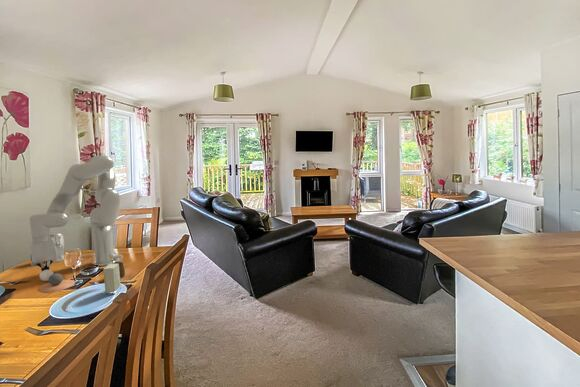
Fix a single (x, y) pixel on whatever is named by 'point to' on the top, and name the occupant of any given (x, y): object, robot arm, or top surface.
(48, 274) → the cue ball
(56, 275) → the object ball
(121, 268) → the utensil holder
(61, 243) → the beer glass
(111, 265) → the skincare box
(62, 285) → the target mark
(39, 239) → the robot arm
